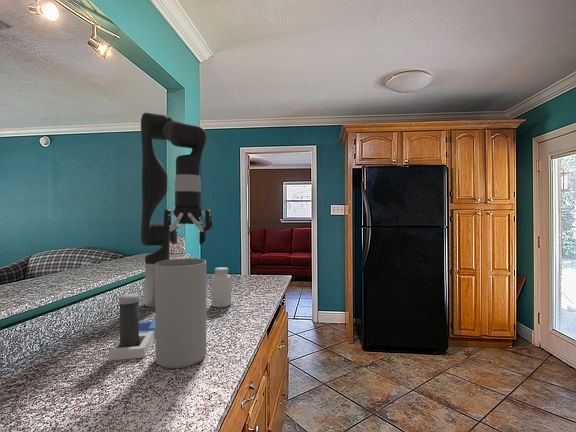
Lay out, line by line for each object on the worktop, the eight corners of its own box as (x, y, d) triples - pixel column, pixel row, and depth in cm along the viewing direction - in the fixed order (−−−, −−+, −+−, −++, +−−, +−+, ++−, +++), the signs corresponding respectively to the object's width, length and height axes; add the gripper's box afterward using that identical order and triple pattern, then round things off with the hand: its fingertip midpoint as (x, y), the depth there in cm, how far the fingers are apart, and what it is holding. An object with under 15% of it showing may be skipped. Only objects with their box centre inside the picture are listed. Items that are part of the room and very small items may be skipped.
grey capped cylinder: (115, 351, 84) (115, 296, 84) (133, 345, 88) (132, 292, 88) (125, 356, 81) (125, 299, 81) (143, 349, 86) (143, 295, 85)
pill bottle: (234, 303, 129) (234, 267, 129) (224, 308, 121) (224, 270, 121) (218, 301, 131) (218, 265, 131) (207, 306, 124) (207, 269, 124)
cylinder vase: (177, 375, 72) (177, 268, 72) (145, 361, 79) (144, 263, 79) (216, 354, 83) (216, 261, 83) (184, 343, 90) (184, 257, 89)
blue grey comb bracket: (109, 360, 79) (109, 348, 79) (132, 329, 100) (132, 319, 100) (144, 357, 81) (144, 345, 81) (160, 327, 101) (160, 318, 101)
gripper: (159, 189, 91) (159, 245, 91) (207, 189, 90) (206, 245, 90) (170, 191, 98) (170, 242, 99) (214, 191, 97) (214, 243, 98)
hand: (188, 243), depth 94 cm, fingers open, 8 cm apart
